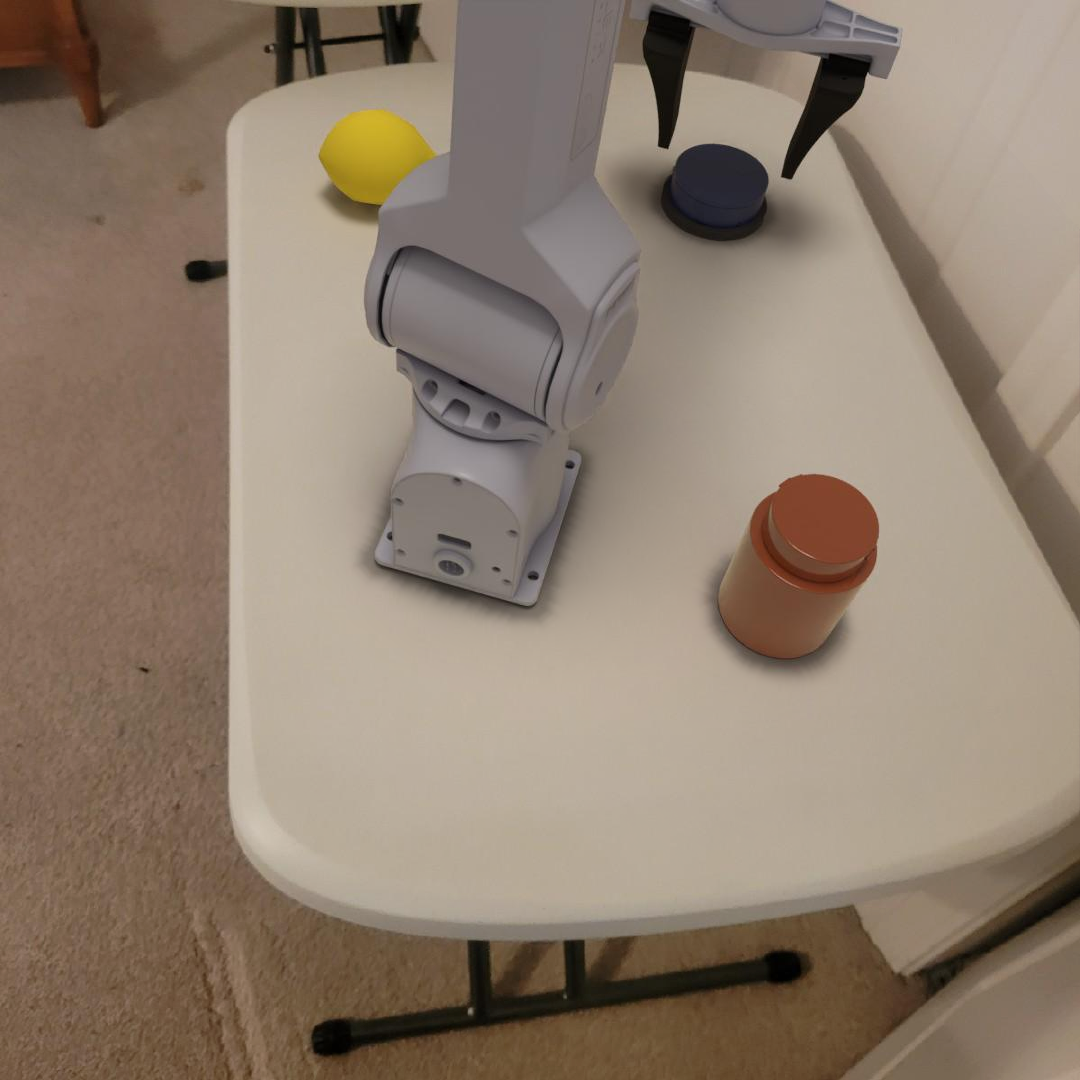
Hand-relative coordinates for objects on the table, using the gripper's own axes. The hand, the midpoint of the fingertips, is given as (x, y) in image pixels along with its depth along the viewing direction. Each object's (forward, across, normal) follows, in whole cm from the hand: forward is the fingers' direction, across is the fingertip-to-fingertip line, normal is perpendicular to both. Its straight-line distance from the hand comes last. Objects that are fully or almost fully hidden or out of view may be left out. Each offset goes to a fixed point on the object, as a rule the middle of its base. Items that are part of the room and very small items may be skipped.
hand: (726, 154), depth 62 cm
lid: (+2, 0, 0) cm, 2 cm away
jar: (+4, -8, +28) cm, 30 cm away
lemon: (+4, +20, +7) cm, 22 cm away
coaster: (+4, 0, 0) cm, 4 cm away
